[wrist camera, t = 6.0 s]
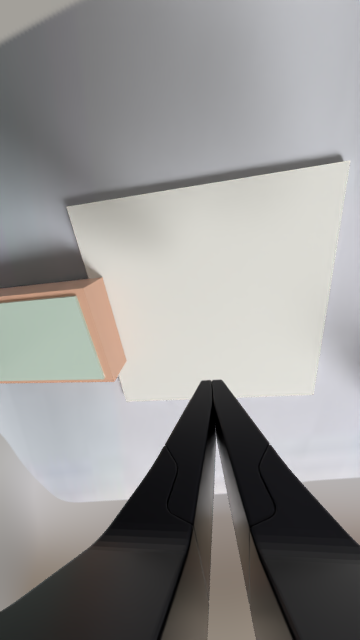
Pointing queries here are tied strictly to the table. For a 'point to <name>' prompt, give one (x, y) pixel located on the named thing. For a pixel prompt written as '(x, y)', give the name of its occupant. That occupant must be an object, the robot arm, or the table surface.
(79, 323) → the tile
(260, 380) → the mat
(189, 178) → the table surface
